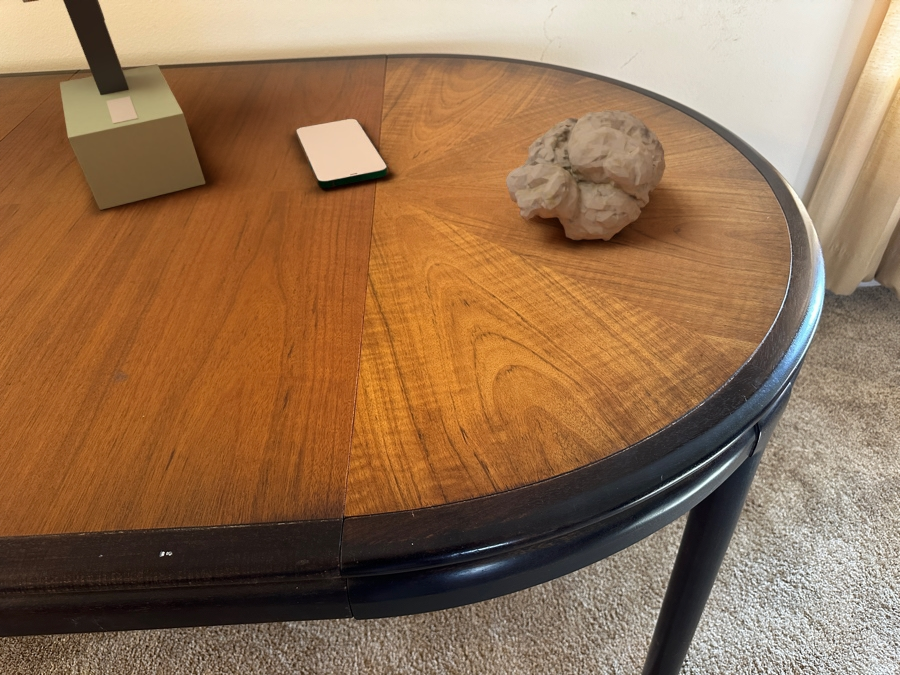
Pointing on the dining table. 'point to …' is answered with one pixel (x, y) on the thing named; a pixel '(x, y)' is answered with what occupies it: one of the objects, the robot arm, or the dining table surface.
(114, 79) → the bar
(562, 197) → the mineral
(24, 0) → the robot arm
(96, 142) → the tissue box
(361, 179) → the smartphone
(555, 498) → the dining table surface
